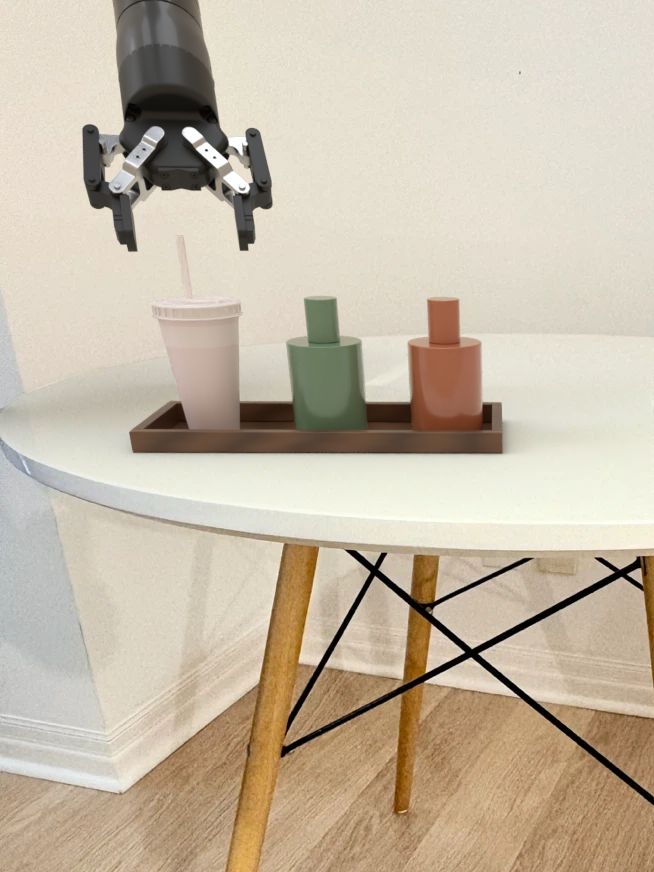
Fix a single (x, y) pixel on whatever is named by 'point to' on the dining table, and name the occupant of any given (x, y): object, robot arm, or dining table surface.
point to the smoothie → (202, 352)
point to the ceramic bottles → (345, 383)
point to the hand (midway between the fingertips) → (188, 244)
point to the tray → (313, 433)
